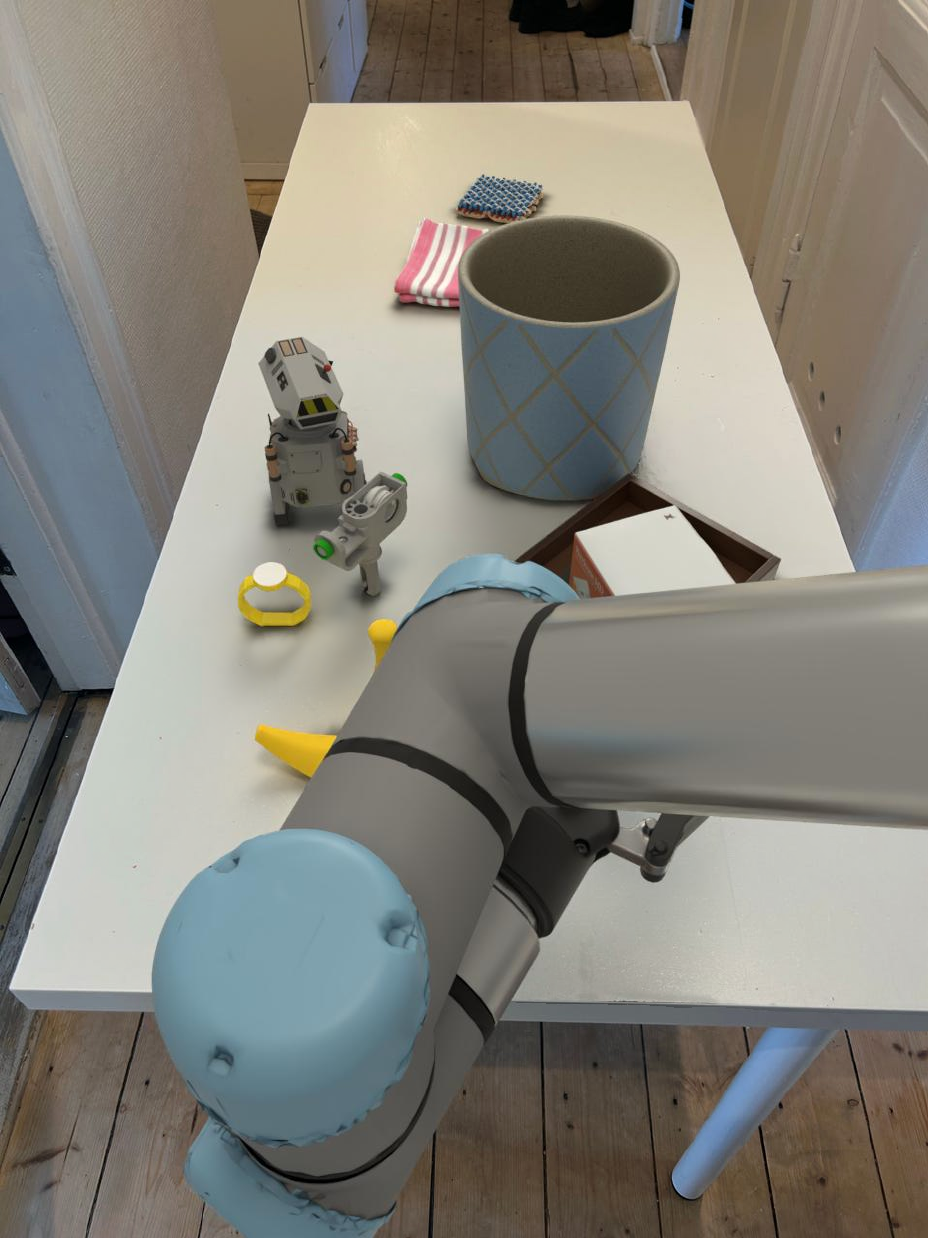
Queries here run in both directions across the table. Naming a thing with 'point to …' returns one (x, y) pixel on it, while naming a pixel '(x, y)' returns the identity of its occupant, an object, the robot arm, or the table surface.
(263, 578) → the watch
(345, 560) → the mechanical component
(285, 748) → the banana peel
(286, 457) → the figurine
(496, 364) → the planter
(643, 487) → the wooden tray
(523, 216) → the woven mat
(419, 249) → the dish towel
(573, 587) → the small box
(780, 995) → the table surface
